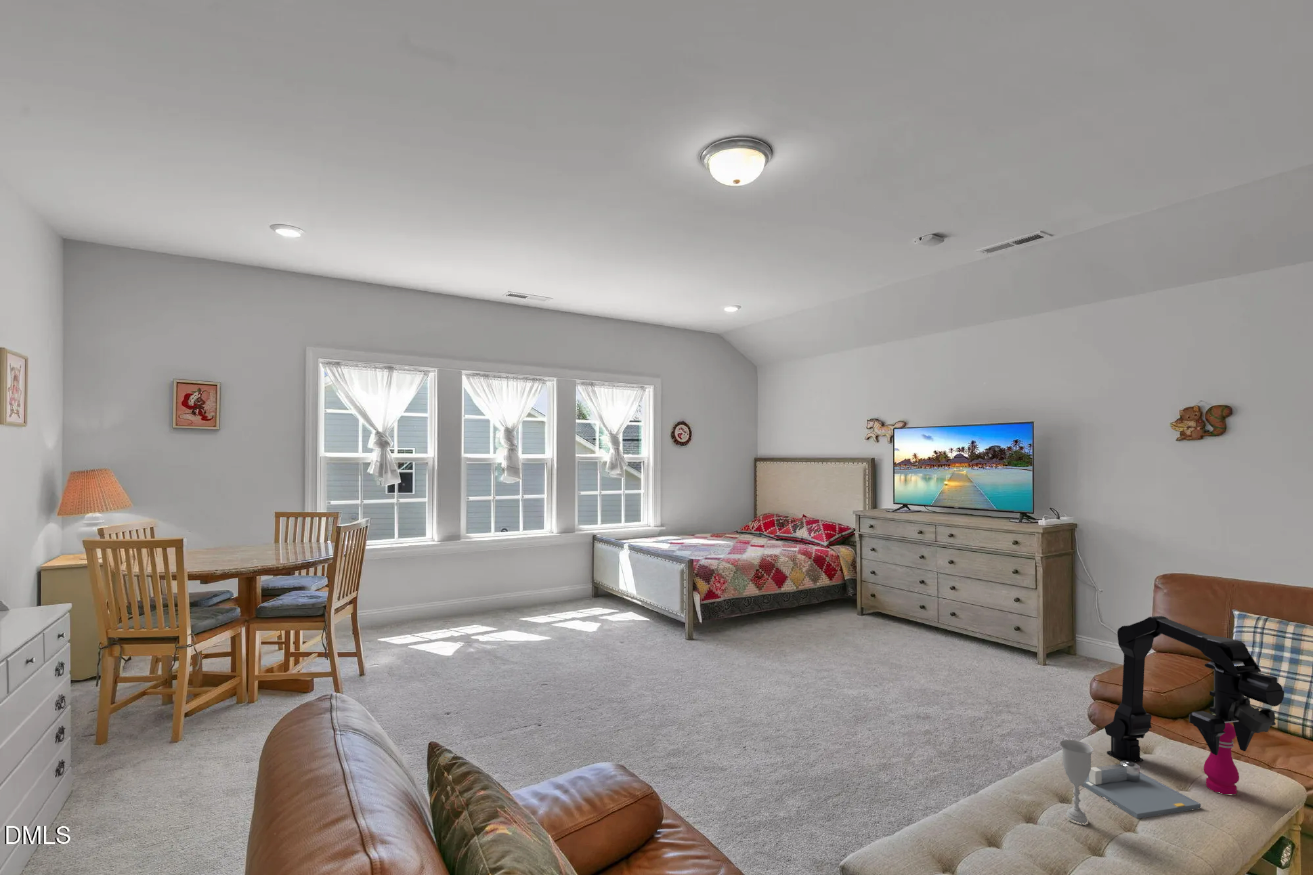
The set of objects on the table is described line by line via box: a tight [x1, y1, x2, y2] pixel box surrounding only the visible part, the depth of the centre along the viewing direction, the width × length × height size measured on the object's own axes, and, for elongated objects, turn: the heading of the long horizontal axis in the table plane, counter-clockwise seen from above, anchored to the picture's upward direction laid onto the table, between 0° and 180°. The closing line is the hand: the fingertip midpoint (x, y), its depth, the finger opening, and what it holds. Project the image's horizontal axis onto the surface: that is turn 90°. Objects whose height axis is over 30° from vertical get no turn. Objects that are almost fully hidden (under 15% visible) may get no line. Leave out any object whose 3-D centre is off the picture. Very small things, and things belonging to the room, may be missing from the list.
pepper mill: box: [1203, 722, 1240, 795], centre depth 174 cm, size 7×7×20 cm
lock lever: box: [1089, 760, 1141, 785], centre depth 176 cm, size 15×4×4 cm, turn 103°
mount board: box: [1081, 771, 1202, 820], centre depth 173 cm, size 20×20×1 cm
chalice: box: [1059, 739, 1094, 824], centre depth 160 cm, size 7×7×18 cm
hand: (1228, 752), depth 164 cm, fingers open, 9 cm apart
